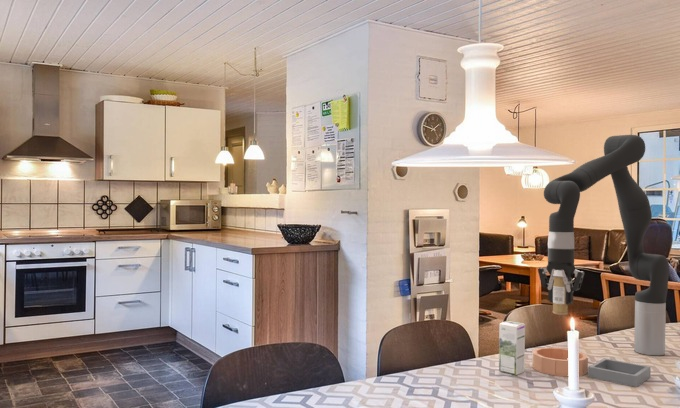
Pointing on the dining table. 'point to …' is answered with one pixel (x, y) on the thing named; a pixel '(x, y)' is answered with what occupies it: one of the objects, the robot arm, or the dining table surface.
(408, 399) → the dining table surface
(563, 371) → the bowl
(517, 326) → the syrup box
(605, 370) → the gray square frame
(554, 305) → the sprinkles bottle
